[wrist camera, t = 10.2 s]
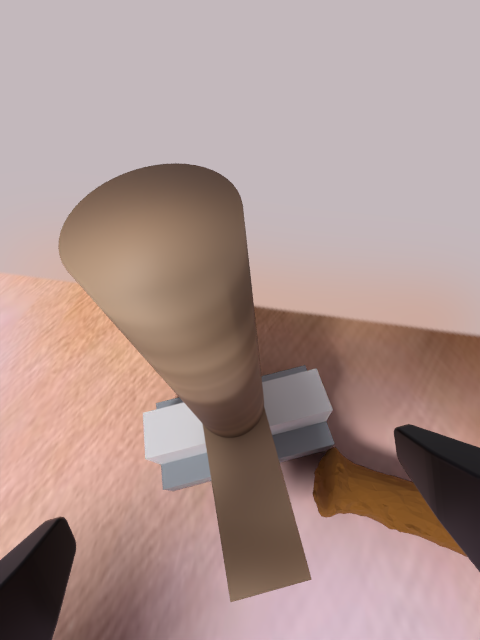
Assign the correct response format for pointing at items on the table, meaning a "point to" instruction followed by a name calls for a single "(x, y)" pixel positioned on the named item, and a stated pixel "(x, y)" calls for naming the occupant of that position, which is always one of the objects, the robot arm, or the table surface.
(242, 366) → the t bar
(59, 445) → the table surface
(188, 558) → the table surface
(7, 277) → the table surface
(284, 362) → the table surface
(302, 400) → the ridge block
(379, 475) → the primitive tool
